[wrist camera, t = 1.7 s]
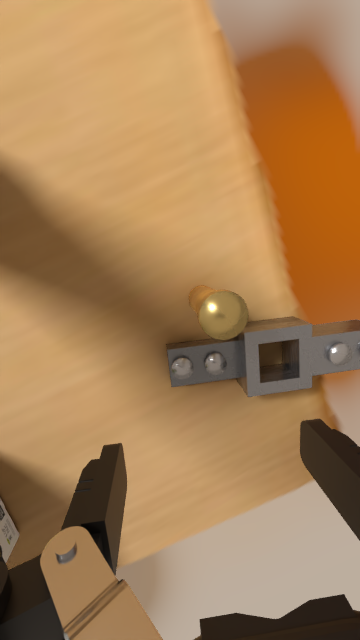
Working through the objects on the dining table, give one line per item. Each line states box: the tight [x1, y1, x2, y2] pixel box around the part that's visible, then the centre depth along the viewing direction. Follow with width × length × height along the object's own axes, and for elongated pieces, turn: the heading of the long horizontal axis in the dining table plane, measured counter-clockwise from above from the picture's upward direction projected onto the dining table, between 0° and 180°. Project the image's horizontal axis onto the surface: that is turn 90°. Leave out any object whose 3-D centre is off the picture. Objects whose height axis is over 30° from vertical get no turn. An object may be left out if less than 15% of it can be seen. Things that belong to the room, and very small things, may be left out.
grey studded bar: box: [166, 317, 360, 397], centre depth 30 cm, size 7×23×5 cm, turn 96°
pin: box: [189, 285, 248, 340], centre depth 25 cm, size 4×4×10 cm
